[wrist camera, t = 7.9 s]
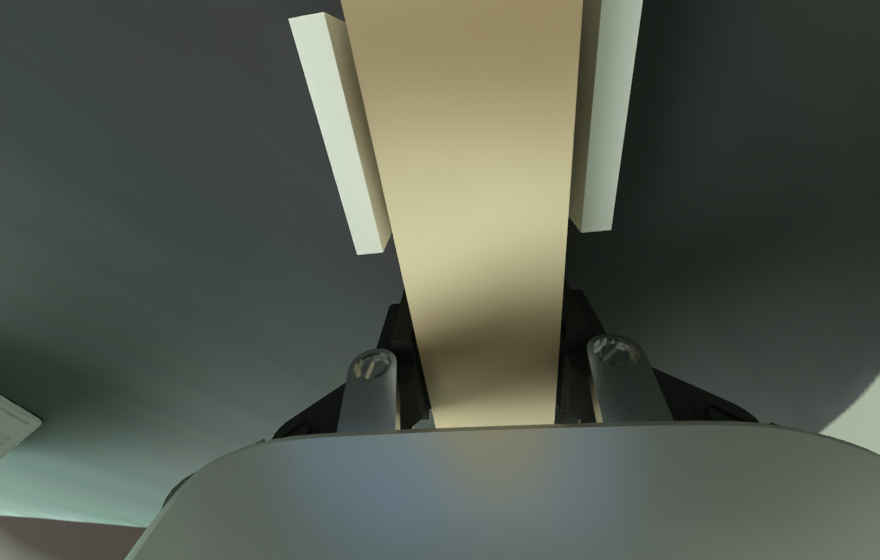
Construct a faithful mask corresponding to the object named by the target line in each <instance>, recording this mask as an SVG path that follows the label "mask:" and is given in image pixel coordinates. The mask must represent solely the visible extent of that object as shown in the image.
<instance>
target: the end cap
mask: <svg viewBox="0 0 880 560" xmlns="http://www.w3.org/2000/svg"><path fill="white" fill-rule="evenodd" d="M642 3H643V0H583V8H582V22H581V37H580V52H579V67H578V81H577V96H576V111H575V125H574V140H573V155H572V170H571V184H570V199H569V214H568V216H569V218H570V219H571V220H572V222H573V223H574V224H575V225H576V227H577V228H578V229H579V231H580V232H581V233H585V232H595V231H605V230H611V227H612V220H613V213H614V206H615V198H616V191H617V184H618V177H619V169H620V162H621V155H622V148H623V141H624V133H625V126H626V119H627V112H628V104H629V97H630V90H631V83H632V75H633V68H634V61H635V54H636V47H637V39H638V32H639V25H640V18H641V10H642ZM289 22H290V26H291V29H292V33H293V36H294V40H295V43H296V46H297V50H298V53H299V57H300V60H301V64H302V67H303V70H304V74H305V77H306V81H307V84H308V88H309V91H310V94H311V98H312V101H313V105H314V108H315V112H316V115H317V118H318V122H319V125H320V129H321V132H322V136H323V139H324V142H325V146H326V149H327V153H328V156H329V159H330V163H331V166H332V170H333V173H334V177H335V180H336V183H337V187H338V190H339V194H340V197H341V201H342V204H343V207H344V211H345V214H346V218H347V221H348V225H349V228H350V231H351V235H352V238H353V242H354V245H355V249H356V252H357V255H361V254H371V253H381V252H383V251H384V249H385V247H386V245H387V242H388V240H389V238H390V236H391V233H392V228H391V224H390V219H389V215H388V210H387V206H386V201H385V197H384V192H383V188H382V183H381V179H380V174H379V170H378V165H377V161H376V156H375V152H374V147H373V143H372V138H371V134H370V129H369V125H368V120H367V116H366V111H365V107H364V102H363V98H362V93H361V89H360V84H359V80H358V75H357V71H356V66H355V62H354V57H353V53H352V48H351V44H350V39H349V35H348V30H347V26H346V22H344V21H342V20H340V19H337V18H335V17H333V16H331V15H329V14H327V13H325V12H322V13H316V14H311V15H306V16H300V17H295V18H290V19H289Z"/></svg>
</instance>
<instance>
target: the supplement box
mask: <svg viewBox="0 0 880 560" xmlns="http://www.w3.org/2000/svg"><path fill="white" fill-rule="evenodd" d="M41 424H42V422H41V420H40V419H39V418H37V417H36V416H34V415H32V414H31V413H29V412H28V411H26V410H24V409H23V408H21V407H20V406H18V405H16V404H14V403H13V402H11V401H9V400H8V399H6V398H5V397H3V396H1V395H0V459H1V458H3V457H4V456H5V455H6V454H7V453H8V452H10V451H11V450H12V449H13V448H14V447H16V446H17V445H18V444H19V443H20V442H21V441H23V440H24V439H25V438H26V437H27V436H29V435H30V434H31V433H32V432H34V431H35V430H36V429H37V428H38V427H39V426H41Z"/></svg>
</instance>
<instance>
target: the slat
mask: <svg viewBox="0 0 880 560" xmlns="http://www.w3.org/2000/svg"><path fill="white" fill-rule="evenodd" d="M341 3H342V8H343V12H344V17H345V21H346V26H347V30H348V35H349V39H350V44H351V48H352V53H353V57H354V62H355V66H356V71H357V75H358V80H359V84H360V89H361V93H362V98H363V102H364V107H365V111H366V116H367V120H368V125H369V129H370V134H371V138H372V143H373V147H374V152H375V156H376V161H377V165H378V170H379V174H380V179H381V183H382V188H383V192H384V197H385V201H386V206H387V210H388V215H389V219H390V224H391V228H392V233H393V237H394V242H395V246H396V251H397V255H398V260H399V264H400V269H401V273H402V278H403V282H404V287H405V291H406V296H407V300H408V305H409V309H410V314H411V318H412V323H413V327H414V332H415V336H416V341H417V345H418V350H419V354H420V359H421V363H422V368H423V372H424V377H425V381H426V386H427V390H428V395H429V399H430V404H431V408H432V413H433V417H434V422H435V426H436V428H454V427H482V426H510V425H540V424H554V420H555V405H556V390H557V376H558V361H559V346H560V332H561V317H562V302H563V287H564V273H565V258H566V243H567V228H568V214H569V199H570V184H571V170H572V155H573V140H574V125H575V111H576V96H577V81H578V67H579V52H580V37H581V22H582V8H583V0H341Z"/></svg>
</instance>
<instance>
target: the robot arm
mask: <svg viewBox="0 0 880 560" xmlns="http://www.w3.org/2000/svg"><path fill="white" fill-rule="evenodd" d="M556 403H558V405H559V409H560V412H561V414H571V415H573V416H574V417H576V418H578V423H572V424H540V425H510V426H482V427H454V428H428V429H415V426H414V425H415V424H416V423H417V422H419V421H420V420H421V419H429V409H432V408H431V404H430V399H429V395H428V390H427V386H426V381H425V377H424V372H423V368H422V363H421V359H420V354H419V350H418V345H417V341H416V336H415V332H414V327H413V323H412V318H411V314H410V309H409V305H408V300H407V296H406V291H405V288H404V292H403V296H402V299H401V303H400V304H392V305H390V307H389V310H388V313H387V316H386V320H385V323H384V326H383V329H382V333H381V336H380V339H379V342H378V345H377V349H372V350H369V351H366V352H364V353H362V354H360V355H359V356H358V357H356V358H355V359H354V360H353V362H352V363H351V364H350V367H349V369H348V374H347V379H346V383H345V384H343V385H341V386H340V387H338V388H337V389H335V390H334V391H332V392H331V393H329V394H328V395H326V396H325V397H323V398H322V399H320V400H319V401H317V402H316V403H314V404H313V405H311V406H310V407H308V408H307V409H305V410H304V411H302V412H301V413H299V414H298V415H296V416H295V417H293V418H292V419H290V420H289V421H287V422H286V423H285V424H284V425H283V426H281V427H280V428H279V430H278V431H277V432H276V433H275V434H274V436H273V438H272V440H268V441H265V440H264V439H263V440H261V441H259V442H257V443H255V444H253V445H249V446H247V447H244V448H241V449H239V450H236V451H233V452H231V453H228V454H226V455H224V456H222V457H220V458H218V459H216V460H214V461H212V462H210V463H209V464H207V465H205V466H204V467H202V468H201V469H200V470H198V471H197V472H195V473H193V474H191V475H190V476H188V477H186V478H185V479H183V480H182V481H181V482H180V483H179V484H178V485H177V486H175V487H174V488H173V489H172V491H171V492H170V494H169V495H168V496H167V498H166V499H165V502H164V504H163V507H162V510H161V511H160V512H159V514H158V515H157V516H156V517H155V519H154V520H153V521H152V522H151V524H150V525H149V526H148V528H147V529H146V531H145V532H144V533H143V535H142V536H141V537H140V539H139V540H138V541H137V543H136V544H135V545H134V547H133V548H132V550H131V551H130V553H129V554H128V555H127V557H126V558H125V559H124V560H880V455H879V454H877V453H875V452H872V451H870V450H868V449H866V448H863V447H860V446H858V445H855V444H852V443H849V442H846V441H843V440H840V439H837V438H834V437H830V436H826V435H822V434H818V433H814V432H810V431H805V430H801V429H797V428H791V427H784V426H780V425H777V424H774V423H770V424H765V423H759V421H758V420H757V419H756V418H755V417H754V416H753V415H751V414H750V413H749V412H747V411H746V410H745V409H743V408H741V407H739V406H737V405H735V404H734V403H731V402H729V401H727V400H725V399H722V398H720V397H718V396H716V395H713V394H711V393H709V392H707V391H704V390H702V389H700V388H698V387H695V386H693V385H691V384H689V383H686V382H684V381H682V380H680V379H677V378H675V377H673V376H670V375H668V374H666V373H664V372H661V371H659V370H657V369H655V368H652V367H651V365H650V363H649V361H648V358H647V356H646V354H645V352H644V350H643V349H642V347H641V346H639V345H638V344H637V343H636V342H635V341H633V340H631V339H629V338H627V337H623V336H620V335H614V334H606V332H605V330H604V328H603V327H602V325H601V323H600V321H599V320H598V318H597V316H596V314H595V312H594V311H593V309H592V307H591V305H590V304H589V302H588V300H587V298H586V297H585V295H584V293H583V292H582V290H570V288H569V286H568V284H567V282H566V280H565V278H564V287H563V302H562V317H561V332H560V346H559V361H558V376H557V390H556Z"/></svg>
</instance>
